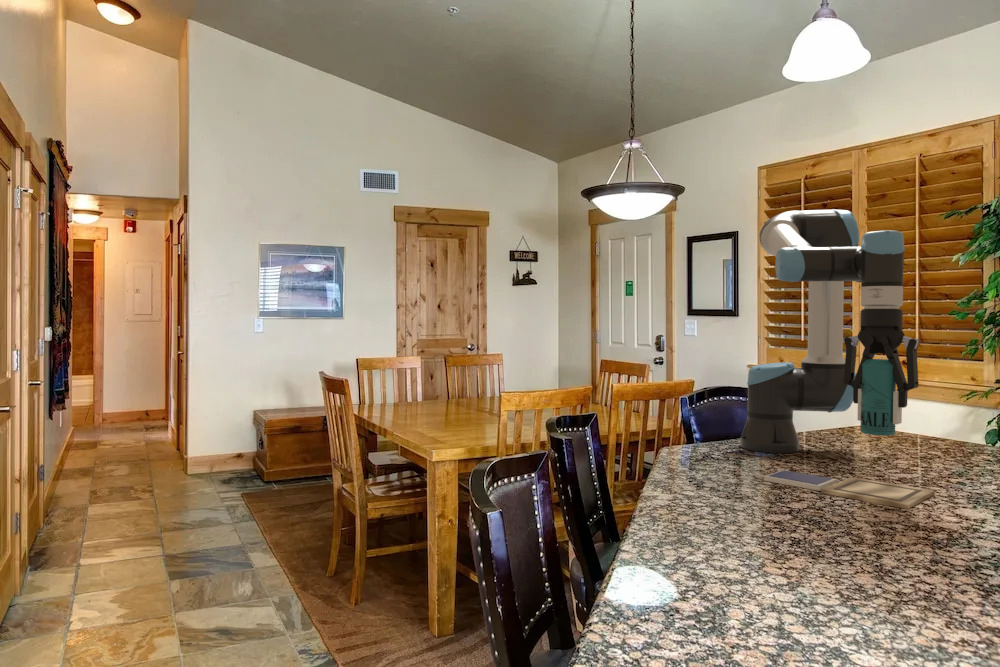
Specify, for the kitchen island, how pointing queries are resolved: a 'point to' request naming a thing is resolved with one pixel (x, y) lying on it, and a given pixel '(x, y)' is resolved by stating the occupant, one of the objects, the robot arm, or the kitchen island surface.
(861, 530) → the kitchen island surface
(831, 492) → the mark board
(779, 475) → the ink pad
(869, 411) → the beverage bottle
